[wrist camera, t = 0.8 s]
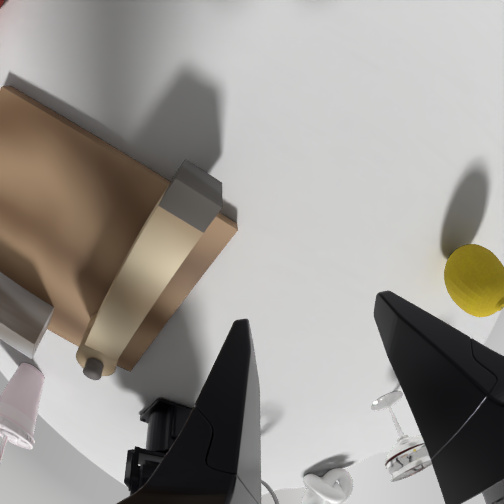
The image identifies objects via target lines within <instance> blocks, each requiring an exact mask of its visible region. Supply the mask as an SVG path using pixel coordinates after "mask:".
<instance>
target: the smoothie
mask: <svg viewBox="0 0 504 504" xmlns="http://www.w3.org/2000/svg"><path fill="white" fill-rule="evenodd" d="M44 380H45V378H44V375H43V374H42V373H41V372H40V371H39V370H38V369H37V368H36V367H34V366H33V365H31V364H28V363H21V364H20V366H19V367H18V369H17V370H16V372H15V373H14V375H13V376H12V378H11V379H10V381H9V383H8V384H7V386H6V388H5V389H4V391H3V392H2V394H1V395H0V436H1V437H3V440H2V443H1V446H0V464H1V460H2V456H3V453H4V449H5V446H6V443H7V441H9V442H11V443H13V444H15V445H17V446H19V447H22V448H25V449H33V445H34V443H35V440H34V439H33V435H34V429H35V423H36V417H37V412H38V407H39V402H40V397H41V393H42V388H43V384H44Z"/></svg>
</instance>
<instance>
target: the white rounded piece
mask: <svg viewBox="0 0 504 504" xmlns="http://www.w3.org/2000/svg"><path fill="white" fill-rule="evenodd" d="M336 480H338V481H339V484H338V483H337V482H336ZM303 482H304V484H305V486H306V487H307V488H306V490H305V492H304V494H303V497H302V504H344V503H345V502H346V501H347V500H348V499H349V497H350V495H351V492H352V489H353V481H352V477H351V476H350V474H349V472H347V471H346V470H345V469H342V468H334V469H332V470H330V471H329V472H327V473H326V474H325V475H324V476H323V477H318V476H316V475H314V474H307V475H306V476H305V477H304V479H303Z"/></svg>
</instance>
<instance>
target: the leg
mask: <svg viewBox="0 0 504 504" xmlns="http://www.w3.org/2000/svg"><path fill="white" fill-rule="evenodd" d="M221 209H222V182H220V181H219V180H217V179H215V178H214V177H212V176H211V175H209V174H208V173H206V172H205V171H203V170H202V169H200V168H198V167H197V166H195V165H194V164H192V163H191V162H189V161H187V160H186V159H185V161H184V162H183V163H182V165H181V166H180V168H179V169H178V171H177V173H176V174H175V176H174V177H173V179H172V180H171V182H170V183H169V185H168V186H167V188H166V190H165V191H164V193H163V194H162V196H161V198H160V199H159V201H158V202H157V204H156V206H155V207H154V209H153V211H152V212H151V214H150V216H149V217H148V219H147V221H146V222H145V224H144V226H143V227H142V229H141V231H140V233H139V234H138V236H137V238H136V240H135V241H134V243H133V245H132V247H131V248H130V250H129V252H128V254H127V256H126V258H125V259H124V261H123V263H122V265H121V267H120V269H119V271H118V273H117V274H116V276H115V278H114V280H113V282H112V284H111V286H110V288H109V290H108V292H107V294H106V296H105V298H104V300H103V302H102V304H101V306H100V308H99V311H98V313H95V314H94V315H93V316H92V317H91V319H90V321H89V324H88V326H87V329H86V331H85V333H84V336H83V338H82V341H81V343H80V346H79V348H78V351H77V353H76V359H77V361H78V363H79V364H80V365H81V366H82V367H83V368H84V366H85V363H86V361H87V359H88V358H95V359H98V360H99V361H101V362H102V363H103V365H104V368H103V371H102V375H101V376H109V375H112V374H113V373H114V372H115V369H116V365H117V362H118V358H119V357H120V355H121V354H122V352H123V350H124V349H125V347H126V346H127V344H128V343H129V341H130V339H131V338H132V336H133V335H134V333H135V332H136V330H137V329H138V327H139V326H140V324H141V323H142V321H143V320H144V318H145V317H146V315H147V314H148V312H149V311H150V309H151V308H152V306H153V305H154V303H155V302H156V300H157V299H158V297H159V296H160V294H161V293H162V291H163V290H164V288H165V287H166V286H167V284H168V283H169V281H170V280H171V278H172V277H173V275H174V274H175V273H176V271H177V270H178V268H179V267H180V265H181V264H182V263H183V261H184V260H185V258H186V257H187V256H188V254H189V253H190V251H191V250H192V249H193V247H194V246H195V244H196V243H197V242H198V240H199V239H200V237H201V236H202V235H203V233H204V232H205V231H206V229H207V228H208V226H209V225H210V224H211V222H212V221H213V220H214V218H215V217H216V216H217V214H218V213H219V212H220V210H221Z"/></svg>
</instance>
